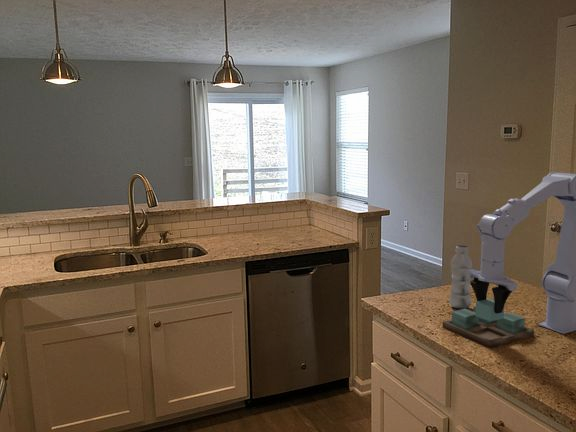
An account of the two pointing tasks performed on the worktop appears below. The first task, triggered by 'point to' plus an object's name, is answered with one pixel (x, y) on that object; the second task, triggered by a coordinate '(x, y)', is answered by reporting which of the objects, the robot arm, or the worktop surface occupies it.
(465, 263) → the plastic bottle
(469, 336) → the puzzle tray
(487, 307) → the teal block
